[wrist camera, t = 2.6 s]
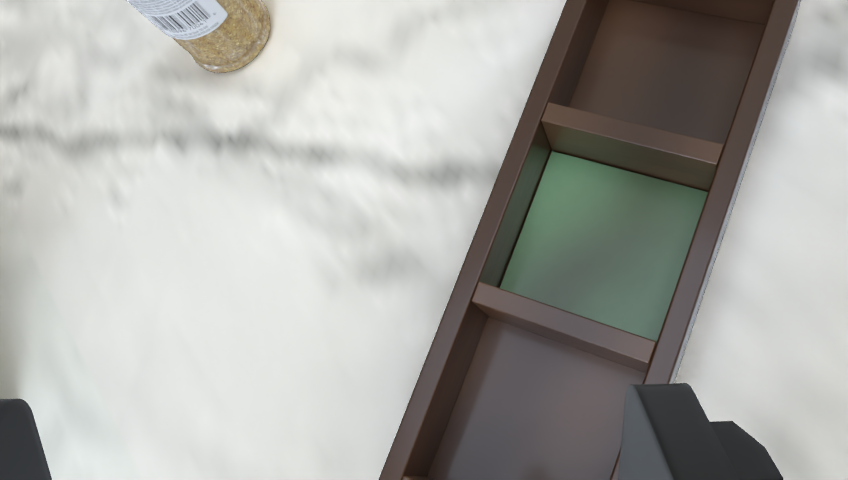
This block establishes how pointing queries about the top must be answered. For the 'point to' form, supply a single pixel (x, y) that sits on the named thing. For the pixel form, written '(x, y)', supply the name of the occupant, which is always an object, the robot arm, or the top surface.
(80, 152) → the top surface
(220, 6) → the brown spice jar
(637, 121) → the tray
